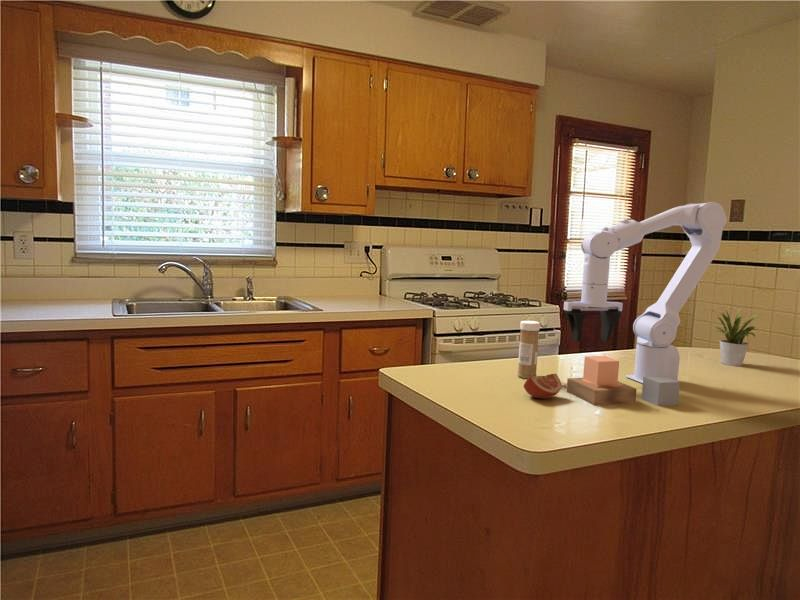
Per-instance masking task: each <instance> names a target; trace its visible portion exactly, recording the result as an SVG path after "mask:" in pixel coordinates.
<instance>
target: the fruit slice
mask: <svg viewBox="0 0 800 600" xmlns="http://www.w3.org/2000/svg"><path fill="white" fill-rule="evenodd" d="M562 387H563V386H562V381H561V380H560V377H559V376H558V375H557V373H551V374H547V375H537V376H533V377H530V378H529V379H526V381H525V382H524V385H523V388H524V390H525V391H526V393H527V394H529V395H530V396H531V397H533V398H536V399H548V398H551V397H554V396H556V395H557V394H558V393H559V392H560V391H561V390H562Z"/></svg>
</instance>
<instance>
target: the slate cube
mask: <svg viewBox="0 0 800 600" xmlns="http://www.w3.org/2000/svg"><path fill="white" fill-rule="evenodd" d="M680 385H681V381H679V380H677V381H676V380H674V379H671V378H668V377H665V376H644V377H643V383H642V388H641V400H642V401H644V402H648V403H650V404H652V405H654V406H656V407H662V406H663V407H665V406H666V405H668V406H678V405H679V396H680Z"/></svg>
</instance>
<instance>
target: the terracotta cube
mask: <svg viewBox="0 0 800 600" xmlns="http://www.w3.org/2000/svg"><path fill="white" fill-rule="evenodd" d="M619 369H620V361H619V360H618V359H615V358H612V357H609V356H606V355H590V356H589V355H588V356H587V355H585V356H584V362H583V373H582V374H583V376H582V378H583V379H584V380H586V381H588V382H591V383H593V384H595V385H613V384H617V383H618V381H619Z"/></svg>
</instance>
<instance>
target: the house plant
mask: <svg viewBox="0 0 800 600" xmlns="http://www.w3.org/2000/svg"><path fill="white" fill-rule="evenodd" d="M741 308H742V306H740V307H739V309H738V310H737V312H736V315H735V318H734V322H733V326H732V322H731V318H730V315H729V312H728V311H727V310H726V309H722V310H720V312H719V315H721V316H722V317H721V316H716V318H717V319H718V321H720V322H721V324H722V326H723V328H724V329H723V328H720V326H719V327H718V326H713V327H712V329H717V330H719V332H720V333H723V336H725V338H726V339H720V340H719V350H720V363H721V364H723V365H727V366H732V367H733V366H734V367H741V366H743V364H744V359H745V357H746V353H747V350H748V347H749V343H748V342H746V341H744V339H745V337H746V338H749V335H751V336H753V338H756V334H755V332H752V331H756V330H757V331H758V328H756V326H754V325H753V326H751V325H750V326H748V325H749V324H750V323H751V322H753V321H754V320H755V319H756V318H759V317H758V316H760V315H761V314H755V315H753V316H751V317H750V318H748V319H747V320H746V321H745V322H744V323H743V324H742V326H741V321H742V319H743V318H744V317H742V316H743V314H742V315H741V313H740V310H741ZM706 310H708V311H709V309H708V308H706ZM710 311H712V312H713V313H715V314H717V312H715V311H714V310H712V309H710ZM724 311H725V312H726V314H727V315H726V314H725V312H724ZM746 312H747V311H745V312H744V314H746ZM722 318H723V319H722ZM723 320H724V321H725V322H724V321H723ZM740 326H741V328H740ZM747 326H748V327H747Z"/></svg>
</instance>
